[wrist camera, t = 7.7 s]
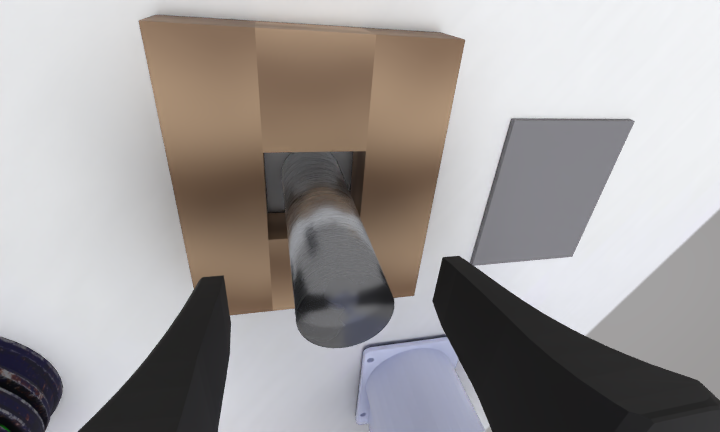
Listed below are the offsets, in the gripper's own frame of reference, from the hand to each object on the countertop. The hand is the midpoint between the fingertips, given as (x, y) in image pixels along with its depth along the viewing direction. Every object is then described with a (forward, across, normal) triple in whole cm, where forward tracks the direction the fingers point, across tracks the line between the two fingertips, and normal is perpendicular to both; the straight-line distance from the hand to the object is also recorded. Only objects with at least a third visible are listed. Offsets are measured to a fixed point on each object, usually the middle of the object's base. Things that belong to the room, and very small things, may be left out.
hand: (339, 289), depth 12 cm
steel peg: (+9, 0, 0) cm, 9 cm away
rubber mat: (+9, -15, +2) cm, 17 cm away
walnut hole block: (+9, 0, 0) cm, 9 cm away
